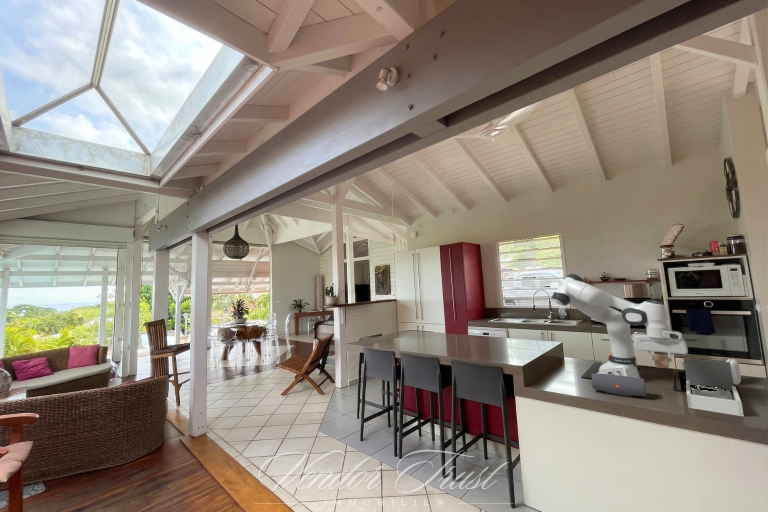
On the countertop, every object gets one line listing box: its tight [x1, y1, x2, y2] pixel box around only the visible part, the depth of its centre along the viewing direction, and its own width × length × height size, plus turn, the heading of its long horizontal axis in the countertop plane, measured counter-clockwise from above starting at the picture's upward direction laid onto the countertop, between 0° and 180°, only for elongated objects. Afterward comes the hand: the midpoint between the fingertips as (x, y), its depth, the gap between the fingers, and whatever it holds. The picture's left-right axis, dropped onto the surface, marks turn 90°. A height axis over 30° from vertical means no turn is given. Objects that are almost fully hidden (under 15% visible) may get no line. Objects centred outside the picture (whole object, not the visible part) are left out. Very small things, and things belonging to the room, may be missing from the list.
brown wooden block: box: [653, 352, 670, 369], centre depth 155 cm, size 5×7×6 cm
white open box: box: [685, 380, 745, 417], centre depth 149 cm, size 17×22×6 cm
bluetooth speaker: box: [591, 372, 647, 397], centre depth 168 cm, size 23×9×10 cm, turn 50°
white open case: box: [683, 357, 735, 400], centre depth 156 cm, size 17×23×15 cm
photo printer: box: [725, 358, 742, 386], centre depth 170 cm, size 10×4×12 cm, turn 123°
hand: (661, 360), depth 155 cm, fingers closed on brown wooden block, 5 cm apart
